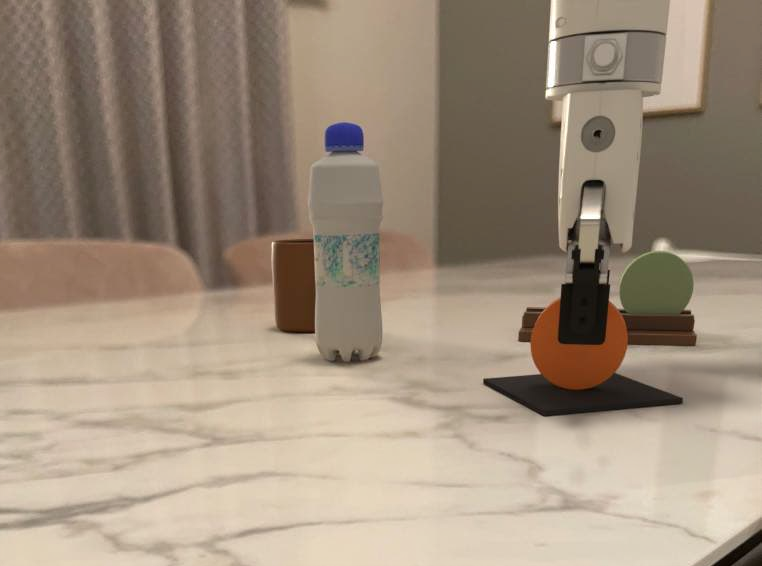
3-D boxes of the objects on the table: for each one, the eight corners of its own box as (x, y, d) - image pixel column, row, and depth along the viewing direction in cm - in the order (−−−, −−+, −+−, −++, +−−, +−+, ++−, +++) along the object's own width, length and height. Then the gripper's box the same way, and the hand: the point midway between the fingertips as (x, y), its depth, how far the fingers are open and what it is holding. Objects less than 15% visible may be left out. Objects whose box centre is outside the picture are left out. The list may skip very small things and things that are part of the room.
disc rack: (525, 327, 94) (526, 304, 93) (687, 330, 90) (690, 306, 89) (518, 341, 86) (519, 316, 85) (695, 345, 82) (699, 319, 81)
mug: (383, 323, 99) (383, 237, 95) (374, 333, 92) (373, 242, 88) (284, 322, 101) (279, 238, 97) (267, 333, 94) (262, 243, 90)
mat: (604, 373, 71) (604, 368, 71) (682, 403, 61) (683, 398, 61) (482, 383, 69) (482, 378, 69) (544, 416, 59) (544, 410, 59)
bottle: (319, 351, 83) (310, 125, 76) (387, 350, 83) (385, 123, 75) (308, 364, 77) (298, 120, 69) (382, 364, 76) (379, 118, 69)
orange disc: (530, 384, 66) (533, 292, 64) (623, 386, 65) (630, 291, 62) (528, 389, 65) (532, 295, 62) (623, 390, 63) (631, 294, 61)
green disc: (615, 321, 88) (622, 250, 85) (687, 322, 86) (696, 250, 84) (616, 323, 87) (623, 251, 84) (688, 325, 85) (698, 251, 82)
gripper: (671, 52, 48) (639, 355, 55) (656, 82, 63) (632, 316, 70) (537, 60, 50) (521, 352, 57) (553, 87, 65) (539, 314, 72)
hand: (582, 332), depth 63 cm, fingers open, 9 cm apart
